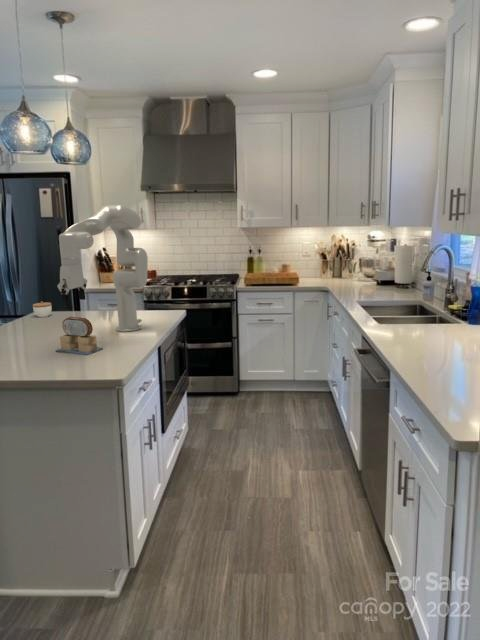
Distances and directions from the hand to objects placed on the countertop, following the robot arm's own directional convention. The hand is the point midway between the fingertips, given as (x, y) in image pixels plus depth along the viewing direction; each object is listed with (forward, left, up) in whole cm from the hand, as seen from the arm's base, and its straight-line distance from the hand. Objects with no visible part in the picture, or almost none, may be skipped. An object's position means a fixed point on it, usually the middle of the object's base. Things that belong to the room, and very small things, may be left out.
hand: (74, 301), depth 217 cm
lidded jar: (-56, -77, -23) cm, 98 cm away
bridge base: (0, 0, -22) cm, 22 cm away
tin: (0, 0, -16) cm, 16 cm away
